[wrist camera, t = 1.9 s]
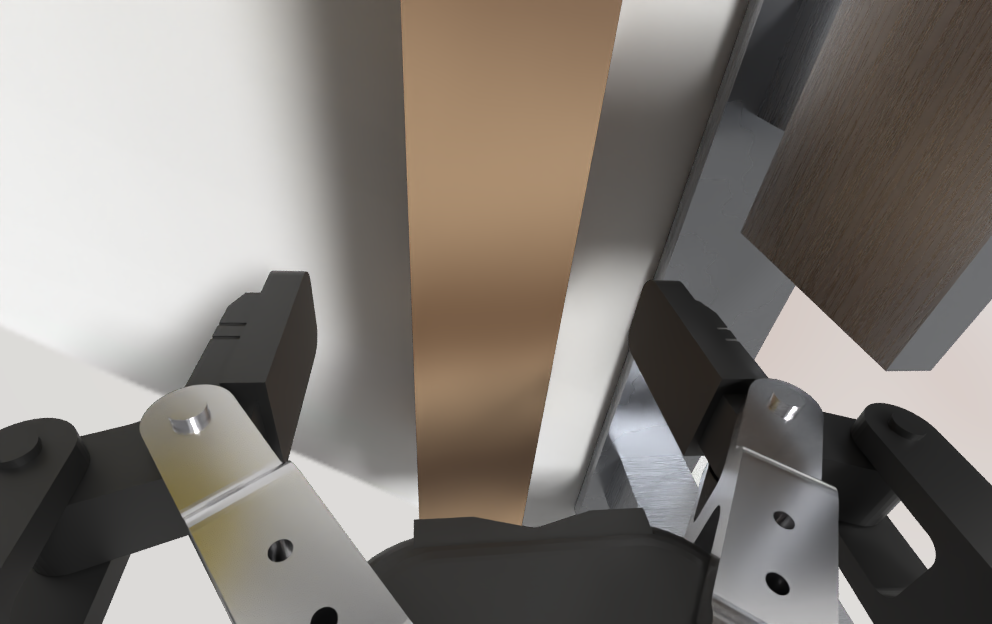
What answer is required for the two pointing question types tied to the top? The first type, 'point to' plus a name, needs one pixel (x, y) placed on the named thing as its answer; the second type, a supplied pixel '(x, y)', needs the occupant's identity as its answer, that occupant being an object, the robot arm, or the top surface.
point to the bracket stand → (825, 206)
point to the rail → (493, 228)
